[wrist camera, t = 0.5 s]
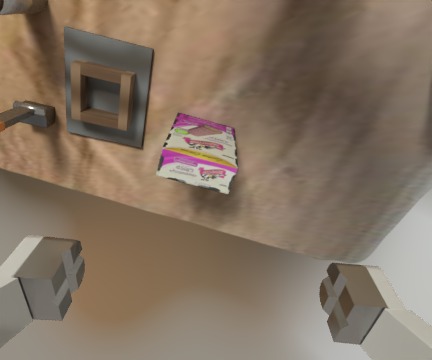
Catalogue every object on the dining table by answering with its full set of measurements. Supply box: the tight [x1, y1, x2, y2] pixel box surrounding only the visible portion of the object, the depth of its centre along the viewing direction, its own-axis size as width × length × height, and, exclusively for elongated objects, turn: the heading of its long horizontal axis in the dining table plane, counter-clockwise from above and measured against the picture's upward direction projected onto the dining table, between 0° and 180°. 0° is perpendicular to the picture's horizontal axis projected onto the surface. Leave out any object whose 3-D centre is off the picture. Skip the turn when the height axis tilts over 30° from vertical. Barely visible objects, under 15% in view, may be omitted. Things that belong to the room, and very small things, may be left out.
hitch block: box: [64, 27, 153, 148], centre depth 50 cm, size 18×14×4 cm
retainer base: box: [13, 101, 55, 128], centre depth 52 cm, size 4×5×4 cm
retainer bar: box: [0, 106, 34, 132], centre depth 45 cm, size 1×3×10 cm, turn 76°
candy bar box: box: [157, 113, 238, 194], centre depth 49 cm, size 11×5×16 cm, turn 74°
